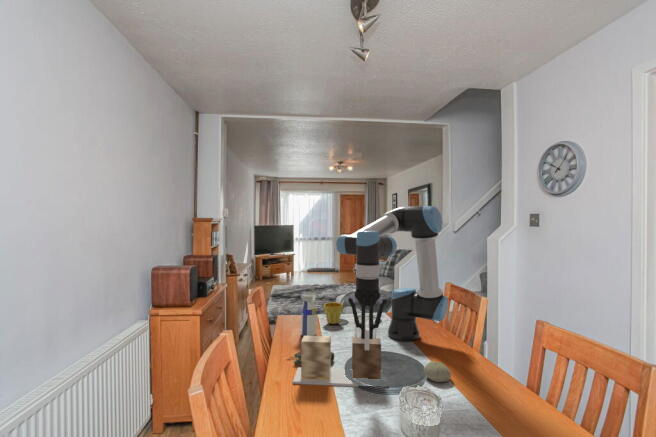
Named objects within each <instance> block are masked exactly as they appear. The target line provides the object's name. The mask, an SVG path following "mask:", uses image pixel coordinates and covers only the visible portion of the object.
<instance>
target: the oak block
mask: <svg viewBox="0 0 656 437" xmlns="http://www.w3.org/2000/svg"><path fill="white" fill-rule="evenodd" d="M331 338H332V337H331V336H329V335H328V336H325V335H314V336H303V337H302V339H301V342H300V344H301V345H300V346H301V348H300V352H301V364H300V367H301V378H306V379H329V378H330V372H331V369H332V366H331V365H332V363H331V352H332V351H331V350H332V349H331V348H332V345H331V344H332V342H331V341H332V339H331Z"/></svg>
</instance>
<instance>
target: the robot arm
mask: <svg viewBox="0 0 656 437" xmlns="http://www.w3.org/2000/svg"><path fill="white" fill-rule="evenodd" d="M442 229H443V219H442V214H441V211H440V210H439V208H437V207H436V206H433V205H413V206H412V205H411V206H406V205H405V206H400V207H396V208H394V209H391V210H389V211H387V212H385V213H383V214H381V216H380V217H379V219H377V220H375V221H373V222H371V223H369V224H368V225H365V226H364V227H362V228H360V229H358V230H357V231H354V232H353V233H351V234H340V235H339V236H338V237H337V238H336V242H335V244H336V250H337V252H338V253H340V254H341V255H346V256H348V255H350V256H356V264H355V266H356V268H355V270H356V272H355V273H356V274H355V275H356V279H355V292H354V295H352V296H349V297H348V298H347V300H348V303H349V304H350V306H351V310H352V315H353V319H354V324H355V327H356V328H357V329H358V328H359V329H360V331H361V332H360V337H361V338H362V339H365V350H369V339H373V338H374V330H375V329H378V328H379V326H380V322H381V318H382V315H383V314H382V313H383V311H384V306H385V305H386V304H387V302H388V301H387V299H386V298H385V297H383V296H381V293H380V279H379V278H378V277H380V258H389V257H390V256H392V255H394V254H395V253H396V252H397V246H398V245H397V242H396V240H395V238H394V237H392V236H390V235H388V234H394V233H396V232H409V233H410V234H411V238H412V239H413V240H414V241H415V248H416V251H415V252H416V263H417V272H418V281H419V282H418V284H419V288H418V289H416V288H414V287H401V288H397V289H394V290H392V291H391V320H390V323H389V326H388V330H387V336H388V337H389V338H390V339H391V338H392V339H393V340H397V341H404V342H413V341H417V340H419V338H420V330H419V328H418V324H417V322H416V321H417V319H416V318H419V319H424V320H430V321H432V322H434V321H435V322H442V321H443V320H444V319H445V318H446V315H447V312H448V308H449V298H448V296H446V295H444V291H443V289H441V288H440V284H439V282H440V281H439V274H438V258H437V249H436V248H437V245H436V238H438V236H439V233H440V232H441V231H442ZM356 301H358V303H359V304H360V306H361V312H360V313H361V314H360V315H361V318H359V316H358V312H357V306H356ZM377 302H379V304H378V308H377V313H376V317H375V321H374V306H375V304H376V303H377ZM367 306H368V327H366V307H367ZM360 320H361V322H360Z"/></svg>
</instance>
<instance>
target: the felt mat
mask: <svg viewBox="0 0 656 437" xmlns="http://www.w3.org/2000/svg"><path fill="white" fill-rule="evenodd" d="M292 384H293V385H313V386H315V385H316V386H337V387H359V386H358V385H357V384H356V383H354V382H352V381H351V380H349V379H348V378H347V377H346V375H345V368H331V372H330V378H329V379H306V378H301V366H300V367H297V369H296V372H295V374H294V377H293V380H292Z"/></svg>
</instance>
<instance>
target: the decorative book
mask: <svg viewBox="0 0 656 437" xmlns="http://www.w3.org/2000/svg"><path fill="white" fill-rule="evenodd" d="M292 358H294V359H292ZM293 360H294V361H293ZM334 360H335V353H334V352H332V351H331V364H332V363H334ZM285 361H293V362H294V365H295V364H296V365H300V366H301V351H297V352H296V353H294V356H291V357H289V358H287V359H285Z"/></svg>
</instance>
